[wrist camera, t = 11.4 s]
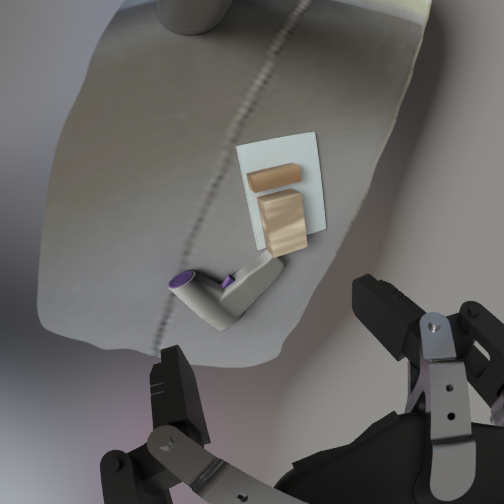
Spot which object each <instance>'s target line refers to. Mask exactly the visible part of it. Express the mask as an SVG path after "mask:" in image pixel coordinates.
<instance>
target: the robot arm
mask: <svg viewBox="0 0 504 504" xmlns="http://www.w3.org/2000/svg"><path fill="white" fill-rule="evenodd" d="M232 1H233V0H158V16H159V19H160V21H161V23H162V24H163V25H164V26H165V27H166V28H167V29H169V30H170V31H173V32H175V33H178V34H183V35H194V34H200V33H204V32H206V31H209V30H211V29H212V28H214V27H215V26H216V25H217V24H218V23H219V22H220V21H221V20H222V18H223V16H224V15H225V13H226V11H227V10H228V8H229V6H230V5H231V3H232ZM352 309H353V312H354V314H355V316H356V317H357V318H358V319H359V320H360V321H361V322H362V323H363V325H364V326H365V327H366V328H367V329H368V330H369V331H370V332H371V333H372V334H373V335H374V336H375V337H376V338H377V339H378V341H379V342H381V344H382V345H383V346H384V347H385V348H386V349H387V350H388V351H389V352H390V353H391V355H392V356H393V357H394V358H395V359H396V360H397V361H400V360H401V359H403V358H404V357H407V358H408V398H407V403H406V408H405V413H404V414H400V415H397V413H396V412H395V411H393V412H391V413H390V414H388V415H386V416H385V417H383V418H382V419H380V420H378V421H377V422H375V423H373V424H372V425H371V426H370V427H369V428H368V429H366V430H365V431H364V432H363V433H362V434H361V435H360V436H359V437H358V438H357V439H355V440H354V441H353V442H352V443H350V444H348V445H345V446H341V447H337V448H333V449H329V450H324V451H320V452H317V453H315V454H313V455H311V456H308V457H306V458H303V459H301V460H299V461H296V462H293V463H292V464H293V467H294V468H293V469H291V470H290V471H289V472H287V473H286V474H285V475H284V476H283V477H282V478H281V479H280V480H279V481H278V482H277V483H276V485H275V486H274V488H273V487H271V486H269V485H267V484H265V483H263V482H261V481H259V480H257V479H256V478H254V477H252V476H250V475H248V474H246V473H245V472H243V471H241V470H240V469H238V468H236V467H235V466H233V465H231V464H230V463H228V462H226V461H224V460H222V459H220V458H217V457H216V456H215V455H213V454H211V453H210V452H208V451H207V450H206V449H205V448H204V444H209V443H211V442H210V438H209V434H208V430H207V426H206V422H205V418H204V414H203V410H202V405H201V401H200V397H199V392H198V387H197V383H196V378H195V375H194V372H193V370H192V368H191V366H190V364H189V362H188V361H187V359H186V357H185V355H184V354H183V352H182V350H181V348H180V347H179V345H175V346H172V347H168V348H165V349H162V350H161V363H158V364H154V365H153V368H152V370H151V373H150V386H151V388H150V392H151V406H152V419H153V431H152V432H151V433H150V435H149V437H148V439H147V442H146V443H145V444H144V445H142V446H140V447H138V448H136V449H135V450H132V451H130V452H129V453H124V452H123V451H120V450H112V451H109V452H107V453H106V454H105V455H104V456H103V458H102V459H101V462H100V472H101V482H102V490H103V497H104V504H173V502H172V499H171V495H170V491H169V488H171V487H173V486H175V485H177V484H178V483H181V482H184V483H185V484H186V485H188V486H189V487H190V488H191V489H192V490H193V492H195V493H196V494H197V495H198V496H200V497H201V498H202V499H204V500H205V501H207V502H208V503H209V504H504V324H503V323H502V322H500V320H498V319H497V318H496V317H495V316H494V315H493V314H491V313H490V312H489V311H488V310H487V309H486V308H484V307H483V306H482V305H481V304H479V303H477V302H475V301H467V302H465V303H463V304H462V305H461V308H460V311H459V313H456V314H453V315H450V316H446V317H445V316H444V315H442V314H440V313H436V312H430V313H426V312H425V311H424V310H423V309H421V308H420V307H419V306H418V305H416V304H415V303H414V302H413V301H411V300H410V299H409V298H408V297H407V296H404V294H403V293H402V292H400V291H398V289H397V288H396V287H394V286H393V285H392V284H391V283H388V282H385V281H383V280H379V281H377V280H376V279H375V278H374V277H373V276H371V275H370V274H366V275H363V276H361V277H359V278H357V279H355V280H353V283H352ZM475 340H476V341H477V342H478V343H479V344H480V345H481V346H482V347H483V348H484V349H485V350H486V351H487V352H488V353H489V356H490V361H489V360H488V359H487V358H486V357H485V356H484V355H483V354H482V353H481V352H480V351H479V350H478V349H477V348H476V347H475V346H474V343H475ZM467 381H468V382H469V383H470V384H471V385H472V386H473V388H474V389H475V390H476V391H477V392H478V394H479V395H480V396H481V397H482V398H483V400H484V401H485V402H486V403H487V404H488V405H489V407H490V408H491V417H490V422H491V423H492V424H493V425H488V424H480V423H474V422H471V416H470V404H469V394H468V386H467Z"/></svg>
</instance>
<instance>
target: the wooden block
mask: <svg viewBox="0 0 504 504" xmlns="http://www.w3.org/2000/svg"><path fill="white" fill-rule="evenodd" d="M257 202H258V207H259V212H260V217H261V223H262V228H263V233H264V238H265V244H266V249H267V250H268V252H269V253H270V254H271V255H272V256H273V257H274V258H275V257H278V256H281V255H284V254H287V253H290V252H293V251H296V250H300V249H303V248H306V247H307V237H306V229H305V220H304V212H303V204H302V196H301V193H300V192H298V191H296V190H294V189H292V188H290V189H286V190H282V191H278V192H274V193H271V194H267V195H263V196H259V197H257Z"/></svg>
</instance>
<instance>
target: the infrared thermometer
mask: <svg viewBox="0 0 504 504" xmlns="http://www.w3.org/2000/svg"><path fill="white" fill-rule="evenodd" d="M284 266H285V264H284V263H283V262H282V261H281V260H280V259H279V258H278V257H275V258H274V257H273V256H272V255H271V254H270V253H269V252H268V250H267V249H266V250H265V251H264V253H262V254H261V255H260V256H259V257H258V258H256V259H255V260H253V261H251V262H250V263H248V264H247V265H245V266H244V267H242V268H241V269H240V270H239V271H238V272H237V273H236V274H235V275H233V276H231V275H227V277H226V279H225V280H224V282H223V283H222V284H221V285H220V284H218V283H216V282H214V281H212V280H210V279H208V278H206V277H205V276H203V275H201V274H199V273H197V272H195V271H185V272H182V273H180V274H178V275H177V276H175V277H174V278H173V279H172V280H171V281H170V282H169V289H170V290H171V291H172V292H173V293H175V294H176V295H177V296H178V297H179V298H180V299H181V300H182V301H183V302H184V303H185V304H187V305H188V306H189V307H190V308H191V309H192V310H193V311H194V312H195V313H196V314H197V315H199V316H200V317H201V318H202V319H204V320H205V321H207V322H208V323H210V324H211V325H212V326H214V327H215V328H217V329H218V330H221V331H224V330H226V329H228V328H229V327H231V326H232V325H233V324H235V323H236V322H237V321H238V320H239V319H240V318H241V317H242V316H243V314H244V313H245V311H246V309H247V308H248V307H249V306H250V305H251V304H252V303H253V302H254V301H255V299H256V298H257V297H258V296H259V295H260V294H261V293H262V292H263V291H264V290H265V289H266V288H267V287H268V286H269V285H270V284H271V283H272V282H273V281H274V280H275V279H276V278H277V277H278V276H279V274H280V273H281V271H282V270H283V268H284Z"/></svg>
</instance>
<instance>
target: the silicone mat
mask: <svg viewBox="0 0 504 504" xmlns="http://www.w3.org/2000/svg"><path fill="white" fill-rule="evenodd" d="M236 149H237V154H238V159H239V163H240V168H241V173H242V178H243V182H244V187H245V192H246V197H247V202H248V206H249V211H250V216H251V221H252V226H253V231H254V235H255V240H256V245H257V249H258V250H261V249H264V248H266V244H265V238H264V233H263V228H262V223H261V217H260V212H259V207H258V202H257V197H259V196H263V195H267V194H271V193H274V192H278V191H282V190H286V189H290V188H292V189H294V190H296V191H298V192H300V193H301V196H302V204H303V212H304V220H305V229H306V235H308V234H311V233H314V232H318V231H321V230H324V229H326V222H325V211H324V200H323V191H322V182H321V173H320V165H319V158H318V150H317V143H316V136H315V132H309V133H302V134H296V135H290V136H284V137H279V138H273V139H268V140H263V141H258V142H253V143H248V144H244V145H239V146H236ZM289 163H294V164H298V165H299V166H300V173H301V180H302V181H301V182H297V183H293V184H289V185H285V186H281V187H277V188H273V189H269V190H265V191H261V192H257V193H254V192H252V191H251V190H250V189H249V185H248V180H247V175H246V173H250V172H254V171H258V170H262V169H267V168H271V167H275V166H280V165H284V164H289Z"/></svg>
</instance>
